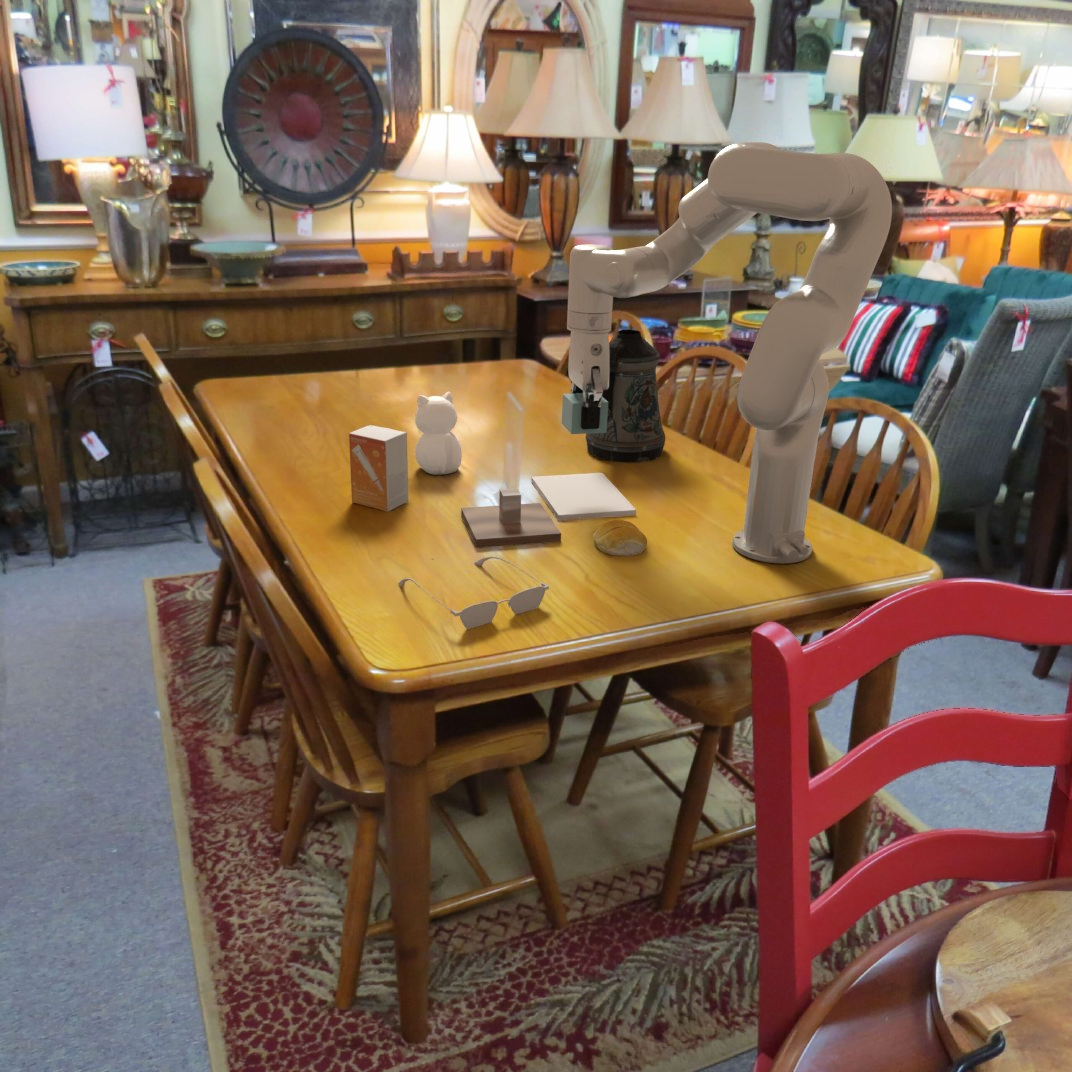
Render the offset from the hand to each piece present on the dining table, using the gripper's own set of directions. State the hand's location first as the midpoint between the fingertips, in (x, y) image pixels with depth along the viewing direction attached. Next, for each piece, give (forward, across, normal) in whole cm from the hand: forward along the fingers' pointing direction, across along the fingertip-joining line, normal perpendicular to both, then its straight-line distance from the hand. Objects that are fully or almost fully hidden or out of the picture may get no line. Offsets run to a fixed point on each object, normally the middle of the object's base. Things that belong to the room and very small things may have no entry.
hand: (584, 421), depth 173 cm
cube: (+1, 0, 0) cm, 1 cm away
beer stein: (+15, +24, -16) cm, 32 cm away
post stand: (+14, -12, +16) cm, 25 cm away
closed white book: (+14, 0, 0) cm, 14 cm away
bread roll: (+15, -22, 0) cm, 27 cm away
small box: (+15, +4, +36) cm, 39 cm away
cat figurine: (+15, +19, +23) cm, 33 cm away
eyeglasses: (+15, -35, +27) cm, 47 cm away
